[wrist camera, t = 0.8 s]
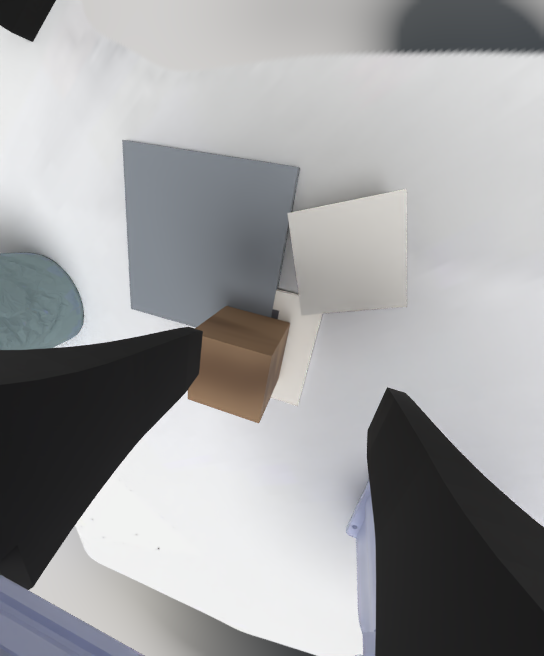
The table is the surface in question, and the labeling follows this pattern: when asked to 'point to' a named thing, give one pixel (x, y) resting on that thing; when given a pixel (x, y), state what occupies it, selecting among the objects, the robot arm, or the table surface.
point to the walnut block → (239, 362)
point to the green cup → (36, 303)
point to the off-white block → (351, 254)
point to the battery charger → (24, 16)
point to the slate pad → (204, 231)
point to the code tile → (294, 346)
